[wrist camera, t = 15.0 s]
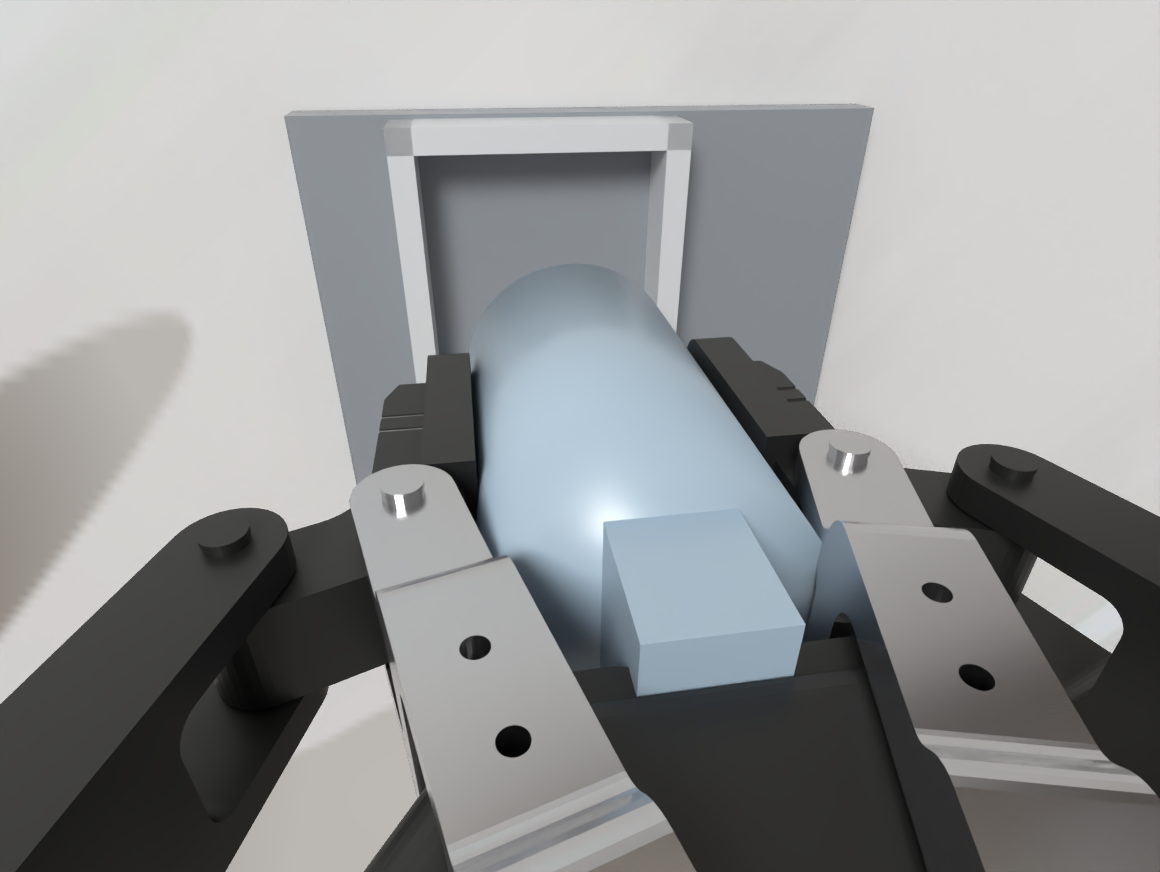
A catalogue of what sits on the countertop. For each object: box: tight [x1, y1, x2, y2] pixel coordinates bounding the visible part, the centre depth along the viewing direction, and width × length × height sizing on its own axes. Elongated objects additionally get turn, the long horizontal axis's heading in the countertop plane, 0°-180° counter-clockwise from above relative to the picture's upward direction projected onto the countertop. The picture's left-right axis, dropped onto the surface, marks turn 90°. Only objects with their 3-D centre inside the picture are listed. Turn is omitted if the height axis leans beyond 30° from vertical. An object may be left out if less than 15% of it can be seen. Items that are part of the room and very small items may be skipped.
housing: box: [284, 104, 874, 484], centre depth 21 cm, size 15×14×2 cm
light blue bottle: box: [469, 264, 822, 698], centre depth 10 cm, size 4×4×9 cm
